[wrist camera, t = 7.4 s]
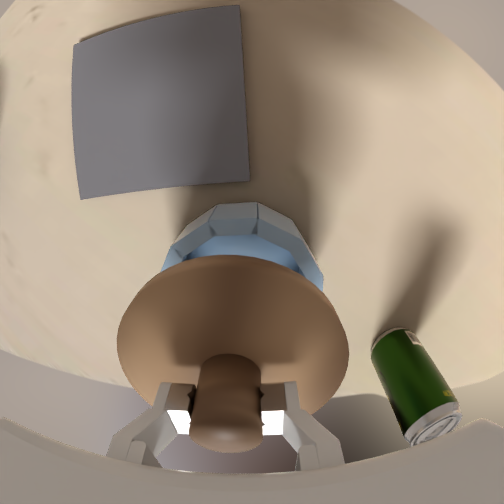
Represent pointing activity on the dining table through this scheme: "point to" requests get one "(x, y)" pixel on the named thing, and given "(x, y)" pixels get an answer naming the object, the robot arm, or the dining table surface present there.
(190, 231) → the bowl
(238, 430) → the lid
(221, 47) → the mat
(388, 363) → the beer can
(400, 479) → the robot arm
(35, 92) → the dining table surface
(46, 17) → the dining table surface
